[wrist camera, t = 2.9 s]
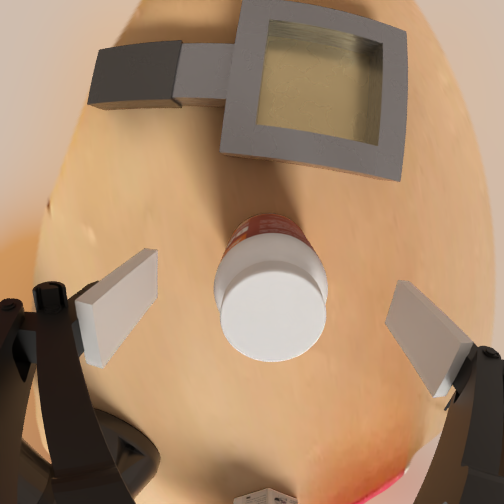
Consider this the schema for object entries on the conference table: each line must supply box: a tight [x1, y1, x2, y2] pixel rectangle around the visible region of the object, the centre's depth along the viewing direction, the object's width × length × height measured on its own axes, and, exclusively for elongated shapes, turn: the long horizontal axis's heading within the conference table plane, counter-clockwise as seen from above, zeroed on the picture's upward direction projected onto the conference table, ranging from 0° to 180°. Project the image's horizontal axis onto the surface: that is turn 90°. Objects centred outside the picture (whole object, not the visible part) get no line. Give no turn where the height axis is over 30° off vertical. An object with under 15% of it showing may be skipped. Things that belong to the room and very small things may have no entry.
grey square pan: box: [87, 0, 408, 182], centre depth 17 cm, size 23×12×4 cm, turn 83°
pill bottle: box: [214, 213, 328, 362], centre depth 18 cm, size 6×6×11 cm
